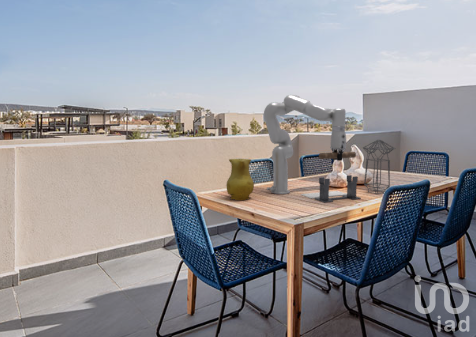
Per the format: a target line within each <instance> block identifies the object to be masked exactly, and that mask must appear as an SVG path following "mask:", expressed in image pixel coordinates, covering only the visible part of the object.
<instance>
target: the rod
mask: <svg viewBox="0 0 476 337" xmlns="http://www.w3.org/2000/svg"><path fill="white" fill-rule="evenodd" d="M337 154H338V151H337V152H335V153H332V152H319V153H318V158H319V160H330V159H331V160H333V159H335V158H337ZM356 157H357V153H356V152H355V151H344V152H343V154H342V159H351V158H352V159H355V158H356Z"/></svg>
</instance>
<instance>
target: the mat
mask: <svg viewBox="0 0 476 337" xmlns="http://www.w3.org/2000/svg"><path fill="white" fill-rule="evenodd" d="M342 195H347V192H342V191H339V190H334V191H333V190H331V191H330V190H329V198H334V197H342ZM300 196H303V197H306V198H308V199H315V198H320V191H319V192H309V193H301V194H300Z"/></svg>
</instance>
